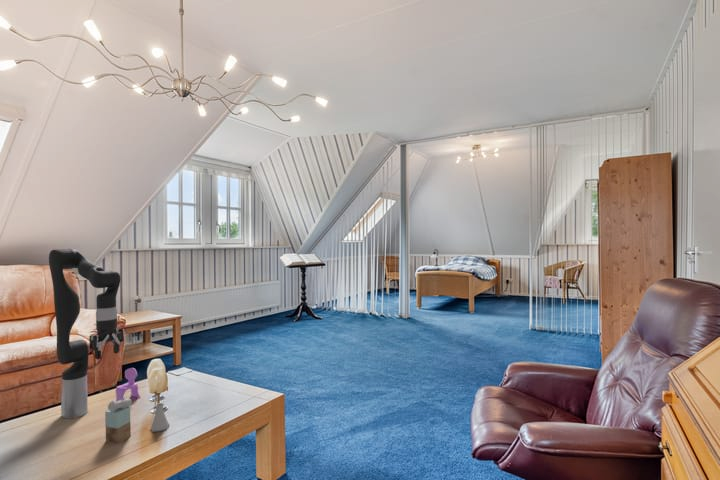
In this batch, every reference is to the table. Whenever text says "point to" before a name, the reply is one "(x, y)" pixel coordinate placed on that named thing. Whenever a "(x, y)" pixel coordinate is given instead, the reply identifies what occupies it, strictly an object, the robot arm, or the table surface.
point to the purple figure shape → (128, 385)
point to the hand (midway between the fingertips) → (107, 356)
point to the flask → (159, 419)
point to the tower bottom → (118, 433)
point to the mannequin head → (119, 404)
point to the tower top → (117, 417)
